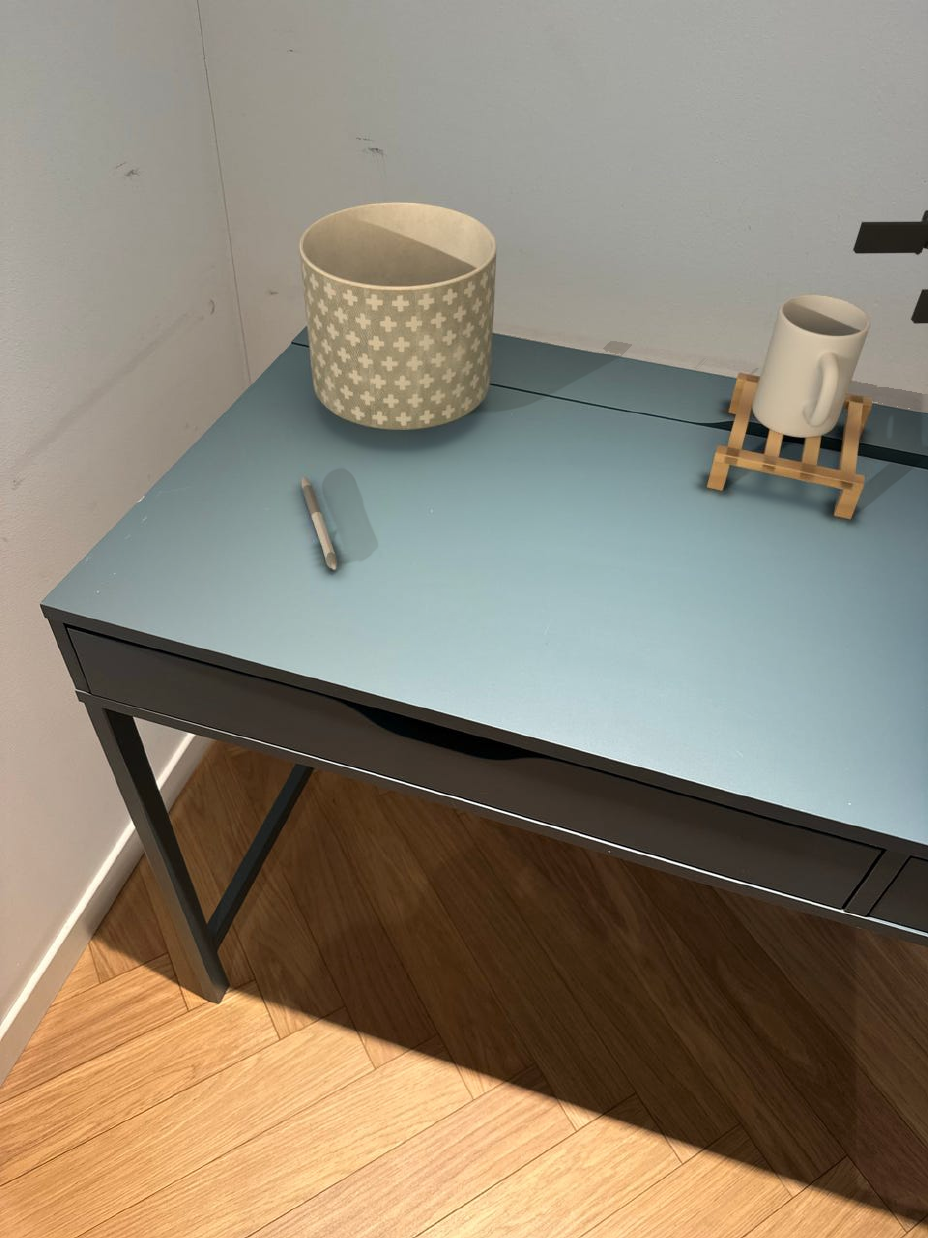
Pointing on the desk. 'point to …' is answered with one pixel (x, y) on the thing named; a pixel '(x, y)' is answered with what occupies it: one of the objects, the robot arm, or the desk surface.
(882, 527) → the desk surface
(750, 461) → the rack
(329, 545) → the pen
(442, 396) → the planter
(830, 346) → the mug
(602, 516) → the desk surface
